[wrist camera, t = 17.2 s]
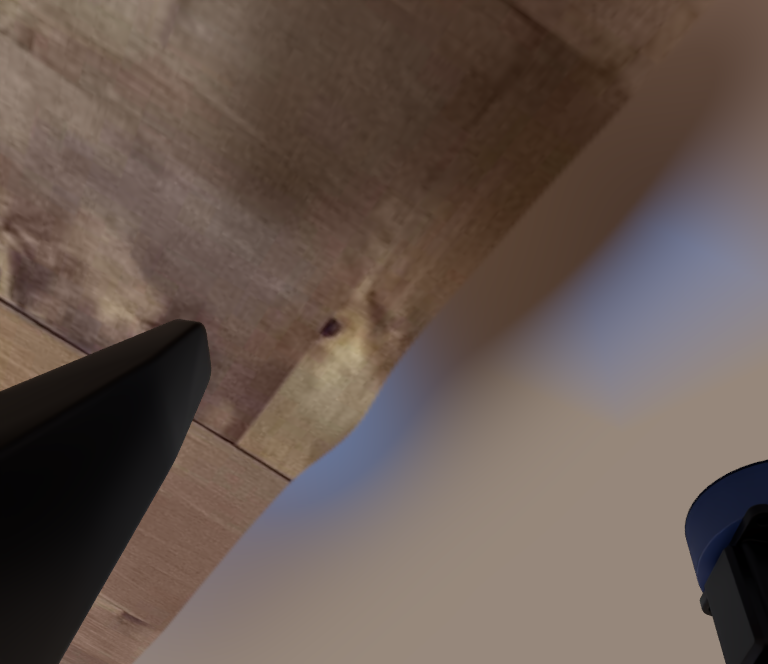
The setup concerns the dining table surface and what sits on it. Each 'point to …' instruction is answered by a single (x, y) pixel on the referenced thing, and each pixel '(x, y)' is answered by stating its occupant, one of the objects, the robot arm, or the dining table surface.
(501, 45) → the dining table surface
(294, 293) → the dining table surface
